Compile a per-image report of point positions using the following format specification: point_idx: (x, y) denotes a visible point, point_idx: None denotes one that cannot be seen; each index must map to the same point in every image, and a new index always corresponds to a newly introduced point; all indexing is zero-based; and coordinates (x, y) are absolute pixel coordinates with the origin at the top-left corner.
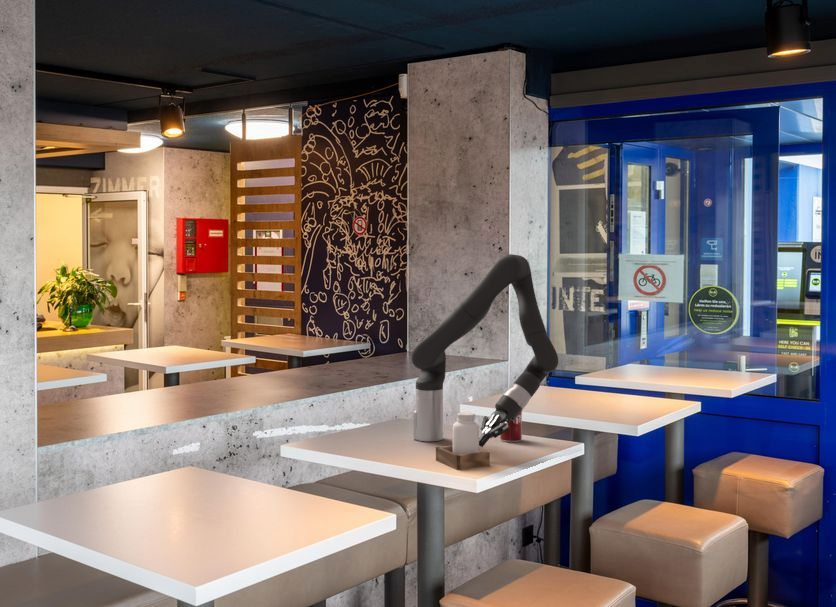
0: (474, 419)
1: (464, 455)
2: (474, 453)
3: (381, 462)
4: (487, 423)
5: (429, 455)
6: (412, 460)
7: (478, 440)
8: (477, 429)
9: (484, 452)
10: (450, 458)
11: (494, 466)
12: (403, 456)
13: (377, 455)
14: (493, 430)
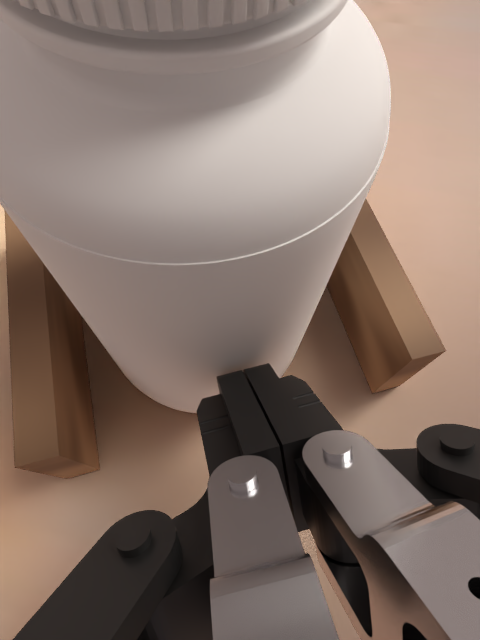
0: (80, 47)
1: (6, 227)
2: (28, 310)
3: None
4: (450, 548)
5: (432, 179)
6: None
7: (114, 337)
8: (22, 228)
9: (29, 408)
10: None
11: (26, 511)
12: (408, 80)
13: (430, 10)
14: (65, 598)
